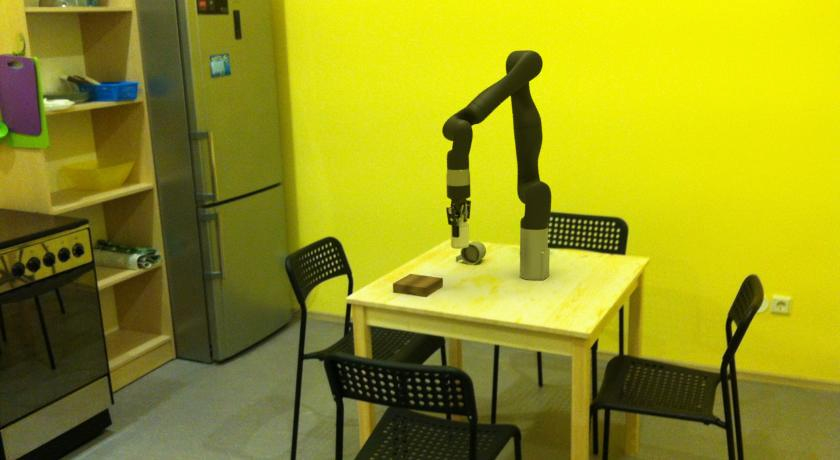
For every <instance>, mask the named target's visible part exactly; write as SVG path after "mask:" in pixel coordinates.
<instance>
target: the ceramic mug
mask: <svg viewBox="0 0 840 460" xmlns="http://www.w3.org/2000/svg"><path fill="white" fill-rule="evenodd" d="M484 244H485V243H483V242H481V241H479V240H478V241H477V240H475V241H471V242H469V247H467V248H461V249H460V254H459V255H457V256H456V257H455V259H456V261H457V262H458V261H463V263H465V264H467V265H469V266H470V265H471V266H472V265H475V264H478V263H479V262H480V261H481V260H482V259H484V258H485V256H486V254H487V248H486V246H485V245H484Z"/></svg>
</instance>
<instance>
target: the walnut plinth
mask: <svg viewBox="0 0 840 460" xmlns="http://www.w3.org/2000/svg"><path fill="white" fill-rule="evenodd" d="M443 287H444V278H443V277H439V276H431V275H430V276H429V275H423V274H416V273H409V274H407V275H406V276H404V277H402V278H400V279H397V280H396V281H395V282H393V283H392V293H394V294H395V293H396V294H403V295H409V296H416V297H417V296H418V297H424V298H427V297H428V296H430V295H432V294H433V293H435V292H436V291H439V290H440V289H442V288H443Z"/></svg>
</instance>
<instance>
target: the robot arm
mask: <svg viewBox="0 0 840 460" xmlns="http://www.w3.org/2000/svg"><path fill="white" fill-rule="evenodd" d="M543 65H544V63H543V58H542V56H541V55H540V54H539V52H537V51H535V50H527V49H525V50H524V49H523V50H522V49H521V50H514V51H512V52H510V53H509V54H508V56H507V57H506V61H505V75H504V76H503V77H501V78H500V79H499V80H498V81H495V82H494V83H493V84H491V85H490V86H488V87H486V88H485V89H484V90H482V91H481V92H479V93H478V94H477V95H476V96H475V97H474V98H473V99H472V100H471V101H470V102H469V103H468V104H467V105H466V106H464V108H462V109H460V110H458V111H457V112H455V113H454V114H453V115H451V116H449V118H447V119H446V121H445V122H444V123H443V126H442V129H441V132H442V136H443V137H444V138H445V140H447V141H450V142H452V144H451V149H450V150H448V151H447V154H446V174H445V175H446V176H445V177H446V197H447V199H450V207H446V208H445V210H446V211H445V212H446V218H447V225H449V226H450V227H451V226H452V237H456V238H458V237H459V222H460V219H461V218H462V214H463V216H464V221H463V222H466V223H468V220H470V218H471V206H472V200H470V197H471V193H472V192H471V172H470V152H471V148H472V143H473V139H474V138H473V137H474V132H473V127H472V126H474V125H479V124H481V123H483V122H484V121H485V120H486V119H487V118H488V117H489V116H490V115H491V114H492V113H493V112H494V111H495V110H496V109H497V108H498V107H499V106H500V105H501V104H503V102H505V101H506V100H507V99H508V98H509V97H510V102H511V103H510V105H511V111H512V113H511V114H512V125H513V126H512V127H513V137H514V145H515V156H516V157H515V158H516V167H517V170H516V171H517V185H516V191H517V197H518V199H519V200H520V202H521V203H522V204H523V205H524V214H523V215H524V216H523V217H522V218H521V219H520V225H519V230H520V231H519V234H520V235H519V276H520V278H521V279H524V280H530V281H544V280H545V279H547V278H548V277H549V276H550V258H551V257H550V255H551V253H550V252H551V251H550V248H548V247H549V245H548V244H549V242H548V241H549V221H550V220H551V216H552V215H551V211H552V191H551V188H550V186H549V185H548V183H546V182H544V181H543V180H541V178H540V170H539V157H540V154H541V149H542V145H543V125H542V118H541V115H540V113H539V110H538V108H537V106H536V103H535V102H534V99H533V97H532V94H531V89H530V82H532V80H534V79H535V78H537V77H538V76H539V75H540V73H541V71H542V69H543ZM468 199H469V200H468ZM456 215H458V216H456ZM456 219H457V221H456Z"/></svg>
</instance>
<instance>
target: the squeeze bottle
mask: <svg viewBox="0 0 840 460" xmlns="http://www.w3.org/2000/svg"><path fill="white" fill-rule="evenodd" d="M456 216H458V215H456ZM456 221H457V219H456ZM463 221H464V216H463V214H462V218H461V219H460V222H459V237H458V238H456V237H452V226H451V225H450V247H451V248H452V249H456V250H457V249H460V250H461V249H462V248H467V247H469V243H470V231H469V230H470V227H469V224H468V222H463Z"/></svg>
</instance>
